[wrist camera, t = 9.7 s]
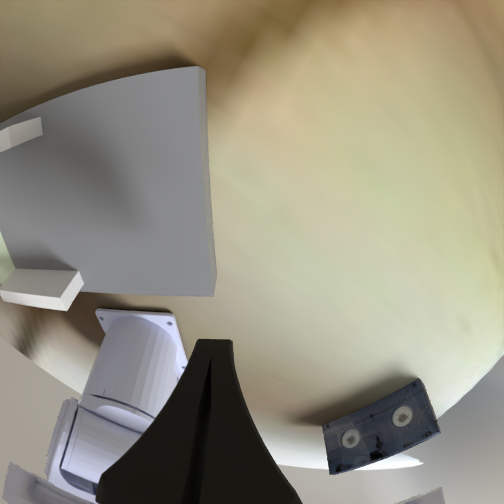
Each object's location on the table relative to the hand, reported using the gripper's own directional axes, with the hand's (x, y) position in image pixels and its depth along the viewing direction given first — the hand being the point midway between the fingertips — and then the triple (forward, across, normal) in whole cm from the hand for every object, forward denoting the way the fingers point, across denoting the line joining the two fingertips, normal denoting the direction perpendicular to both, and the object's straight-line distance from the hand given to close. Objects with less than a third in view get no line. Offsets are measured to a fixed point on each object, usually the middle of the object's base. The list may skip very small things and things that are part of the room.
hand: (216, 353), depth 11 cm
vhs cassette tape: (+10, -21, +31) cm, 39 cm away
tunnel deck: (+9, +19, -4) cm, 22 cm away
